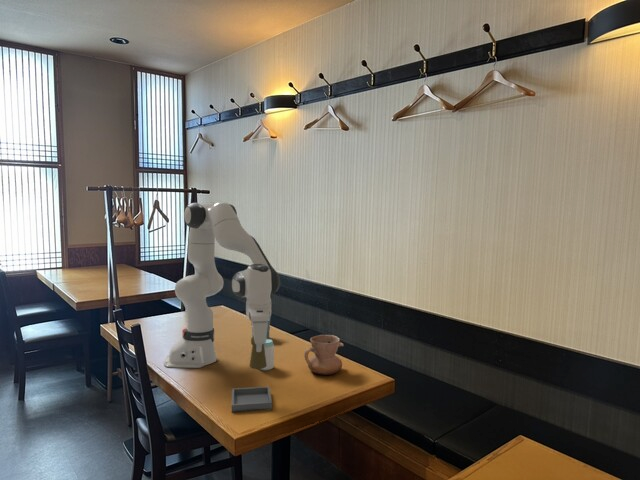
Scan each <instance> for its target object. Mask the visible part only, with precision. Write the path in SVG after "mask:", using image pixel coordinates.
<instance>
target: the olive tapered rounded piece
mask: <svg viewBox="0 0 640 480" xmlns="http://www.w3.org/2000/svg"><path fill="white" fill-rule="evenodd" d="M250 343H251V346H252V347H251V354H250V361H249V367H250V369H254V370H260V369H262V368H265V367H266V366H267V365H266V357H265V349H264V344H262V351H261V352H257V351H256V344H255V342H254V336H253V337H251V339H250Z"/></svg>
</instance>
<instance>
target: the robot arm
mask: <svg viewBox="0 0 640 480" xmlns="http://www.w3.org/2000/svg"><path fill="white" fill-rule="evenodd" d="M183 219H184V223H185V224H186V225H187V227H188V228H189V233H188V244H187V248H188V249H187V258H188V262H189V263H190V264H192V266H193V268H194V274H191V275H187V276H185V277H183V278H180V279H179V280H178V281H176V283H175V285H174V293H175V296H176V297H177V300H180V301H181V302H182V304H183V306H184V308H185V312H186V318H187V319H186V323H187V327H184V328H183V329H182V338H181V339H179V340H178V341H177V342H175V343H174V344H173V345H172V346H171V348H170V350H169V355H167V356H166V357H164V360H163V366H164V367H166V368H189V369H197V368H198V369H200V368H203V367H204V366H207V365H211V364H213V363H215V362H216V361H217V359H218V358H217V354H216V349H215V328H214V311H213V309H211V308H210V307H209V306H208V303H207V297H208V298H209V297H211V296H215V295H216V294H218V293H219V292H221V290H223V287H224V278H223V276H222V275H221V274H220V273H219V272H218V269H217V266H216V261H215V244H216V243H215V242H217V244H218V245H219V246H220V247H222V248H224V249H226V250H229V251H235V252H238V253H242V254H243V255H246V256H247V257H248V258H249V259H250V260H251V262H252V264H250V265H248V266H247V268H246V269H244V270H241V271H238V272H235V274H234V275H233V276H232V277H231V282H230V289H231V291H232V293H233V294H234V295H235V296H236V297H238V298H246V302H245V314H246V317H247V318H248V319H249V321H250V323H252V325H251V330H252V329H253V335H254V342H255V344H256V351H257V352H261V351H262V344H265V342H266V337H267V327H268V321H270V322H271V318H270V316H271V317H272V299H271V296H274V295H275V293H277V292H278V290H279V288H280V286H281V278H280V275H279V273H278V272H277V270H276V269H275V268H274V267H273V266H272V264H271V263H270V261H269V259H268V258H267V256H266V255H265V253H264V250H263V249H262V247H261V246H260V244H259V243H258V242H257V239H256V238H255V237H253V236H252V235H250V233H248V232H247V231H246V230H245V228H243V226H242V224H241V221H240V219H239V217H238V213H237V209H236V207H235V206H234V205H233V204H231V203H228V202H223V201H220V202H214V201H209V202H192V203H188V204H187V205H186V206H185V208H184V210H183Z"/></svg>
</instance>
